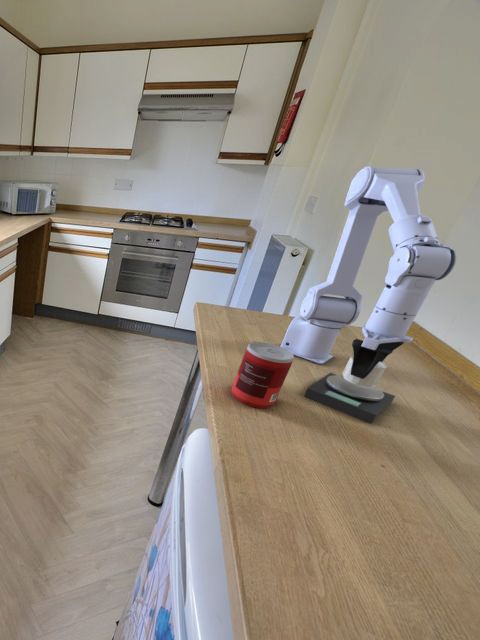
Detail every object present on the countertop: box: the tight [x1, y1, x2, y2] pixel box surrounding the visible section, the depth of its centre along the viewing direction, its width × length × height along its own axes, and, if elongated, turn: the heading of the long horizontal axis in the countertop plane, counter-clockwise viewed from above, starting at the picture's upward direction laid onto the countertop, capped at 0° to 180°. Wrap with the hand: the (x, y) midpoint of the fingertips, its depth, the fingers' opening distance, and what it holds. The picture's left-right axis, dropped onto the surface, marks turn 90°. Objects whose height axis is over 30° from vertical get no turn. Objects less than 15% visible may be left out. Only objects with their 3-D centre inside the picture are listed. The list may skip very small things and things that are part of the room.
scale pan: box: [326, 374, 384, 401], centre depth 84 cm, size 9×9×1 cm
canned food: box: [231, 341, 295, 409], centre depth 82 cm, size 8×8×11 cm
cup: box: [341, 355, 388, 387], centre depth 82 cm, size 5×5×4 cm
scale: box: [303, 372, 396, 424], centre depth 84 cm, size 11×13×2 cm
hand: (362, 372), depth 83 cm, fingers closed on cup, 5 cm apart
